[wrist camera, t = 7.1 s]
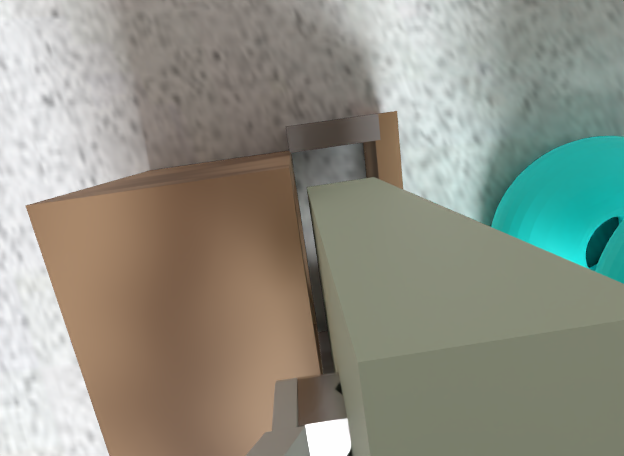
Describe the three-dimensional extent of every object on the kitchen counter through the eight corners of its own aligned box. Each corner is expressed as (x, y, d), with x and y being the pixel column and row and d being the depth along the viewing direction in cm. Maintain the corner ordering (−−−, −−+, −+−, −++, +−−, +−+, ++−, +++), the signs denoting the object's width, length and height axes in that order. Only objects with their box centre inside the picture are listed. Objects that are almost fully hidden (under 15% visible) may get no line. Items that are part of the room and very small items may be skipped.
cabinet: (380, 114, 19) (457, 99, 10) (400, 335, 22) (472, 473, 13) (143, 148, 18) (11, 163, 10) (197, 366, 22) (133, 526, 13)
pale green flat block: (396, 173, 14) (792, 292, 3) (417, 394, 16) (696, 961, 5) (306, 187, 13) (358, 362, 3) (339, 407, 15) (443, 1007, 5)
